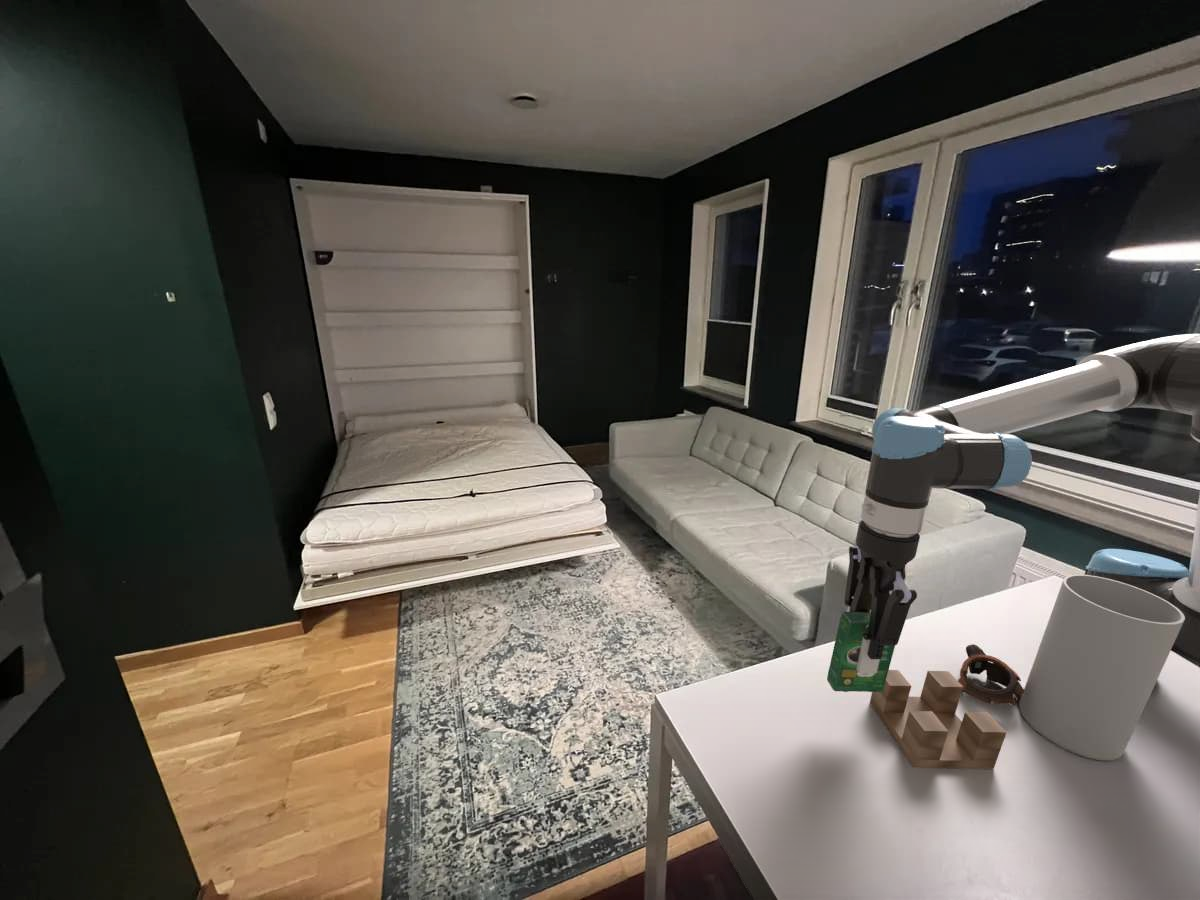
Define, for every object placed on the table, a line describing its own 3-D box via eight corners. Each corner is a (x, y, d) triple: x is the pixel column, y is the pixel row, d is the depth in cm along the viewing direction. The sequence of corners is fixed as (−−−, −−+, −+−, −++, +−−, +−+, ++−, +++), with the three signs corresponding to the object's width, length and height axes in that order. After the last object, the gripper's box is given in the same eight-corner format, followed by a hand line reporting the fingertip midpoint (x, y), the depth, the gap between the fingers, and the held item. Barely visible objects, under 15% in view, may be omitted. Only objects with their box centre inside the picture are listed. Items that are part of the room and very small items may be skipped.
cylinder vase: (1125, 780, 70) (1192, 637, 62) (1015, 728, 78) (1063, 596, 70) (1118, 728, 78) (1176, 597, 71) (1020, 687, 86) (1063, 566, 79)
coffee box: (875, 679, 77) (891, 610, 73) (885, 693, 74) (902, 622, 70) (825, 678, 77) (839, 609, 73) (834, 693, 74) (848, 622, 70)
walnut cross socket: (938, 704, 82) (948, 671, 80) (993, 769, 71) (1006, 732, 69) (869, 702, 82) (877, 669, 80) (913, 767, 70) (924, 730, 68)
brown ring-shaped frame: (1039, 717, 81) (1038, 691, 77) (977, 728, 83) (973, 704, 79) (992, 654, 91) (989, 629, 87) (938, 666, 93) (934, 641, 90)
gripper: (835, 503, 75) (813, 628, 82) (896, 554, 59) (863, 703, 66) (883, 503, 75) (857, 629, 82) (956, 555, 59) (916, 704, 66)
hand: (860, 662), depth 74 cm, fingers closed on coffee box, 3 cm apart
